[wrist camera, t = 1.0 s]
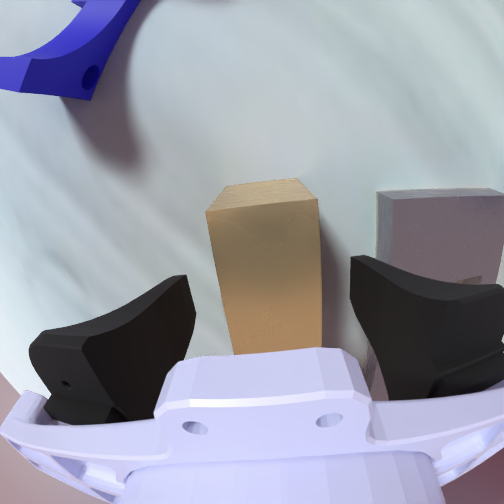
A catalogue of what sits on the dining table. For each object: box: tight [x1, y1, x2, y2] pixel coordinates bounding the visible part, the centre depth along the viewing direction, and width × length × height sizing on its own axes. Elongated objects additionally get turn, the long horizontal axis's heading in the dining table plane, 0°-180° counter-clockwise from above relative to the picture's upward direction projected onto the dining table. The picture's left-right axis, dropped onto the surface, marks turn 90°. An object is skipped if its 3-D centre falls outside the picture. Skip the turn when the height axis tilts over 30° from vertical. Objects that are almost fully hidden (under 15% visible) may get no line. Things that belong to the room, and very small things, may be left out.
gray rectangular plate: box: [363, 188, 504, 401], centre depth 16 cm, size 9×20×2 cm, turn 7°
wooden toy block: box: [205, 178, 322, 355], centre depth 13 cm, size 4×8×6 cm, turn 7°
